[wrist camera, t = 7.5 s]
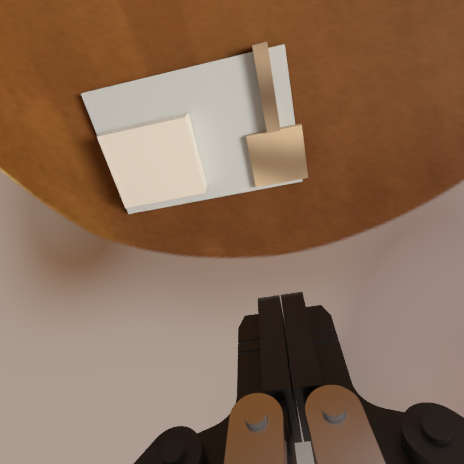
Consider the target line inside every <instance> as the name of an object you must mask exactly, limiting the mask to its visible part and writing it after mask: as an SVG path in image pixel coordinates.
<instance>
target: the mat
mask: <svg viewBox="0 0 464 464" xmlns="http://www.w3.org/2000/svg"><path fill="white" fill-rule="evenodd" d="M268 50H269V57H270V64H271V70H272V77H273V84H274V90H275V97H276V103H277V110H278V117H279V123H280V128H281V127H286V126H290V125H295V119H294V112H293V104H292V96H291V89H290V81H289V73H288V65H287V58H286V50H285V44H282V45H278V46H274V47H270V48H268ZM81 96H82V98H83V101H84V103H85V106H86V108H87V111H88V114H89V116H90V119H91V121H92V124H93V126H94V129H95V131H96V134H97V136H99V135H100V134H102V133H103V132H105V131H108V130H113V129H117V128H122V127H126V126H131V125H135V124H140V123H144V122H149V121H153V120H157V119H162V118H166V117H171V116H175V115H180V114H184V113H189V117H190V121H191V125H192V128H193V132H194V136H195V140H196V143H197V147H198V151H199V155H200V158H201V162H202V166H203V170H204V173H205V177H206V181H207V184H208V186H207V189H206V193H203V194H198V195H193V196H187V197H182V198H177V199H172V200H166V201H161V202H156V203H151V204H145V205H140V206H135V207H130V208H126V209H127V212H128V214H132V213H137V212H142V211H148V210H153V209H158V208H164V207H169V206H174V205H179V204H185V203H190V202H195V201H201V200H206V199H211V198H217V197H222V196H227V195H233V194H238V193H243V192H249V191H254V190H259V189H264V188H270V187H275V186H280V185H286V184H291V183H296V182H302V179H299V180H293V181H288V182H283V183H278V184H272V185H267V186H262V187H256V185H255V180H254V175H253V170H252V165H251V160H250V155H249V150H248V145H247V140H246V135H248V134H252V133H257V132H262V131H266V125H265V119H264V113H263V107H262V101H261V95H260V90H259V84H258V78H257V72H256V66H255V60H254V54H253V52H249V53H245V54H241V55H237V56H233V57H229V58H224V59H220V60H216V61H212V62H208V63H204V64H200V65H196V66H191V67H187V68H183V69H179V70H175V71H171V72H167V73H163V74H158V75H154V76H150V77H146V78H142V79H138V80H134V81H130V82H125V83H121V84H117V85H113V86H109V87H105V88H101V89H97V90H93V91H88V92H84V93H81Z"/></svg>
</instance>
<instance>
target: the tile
mask: <svg viewBox="0 0 464 464" xmlns="http://www.w3.org/2000/svg"><path fill="white" fill-rule="evenodd" d="M97 139H98V141H99V144H100V146H101V149H102V151H103V154H104V156H105V159H106V161H107V164H108V166H109V169H110V171H111V174H112V176H113V179H114V181H115V184H116V186H117V189H118V191H119V194H120V196H121V199H122V201H123V204H124V206H125V208H130V207H135V206H140V205H145V204H151V203H156V202H161V201H166V200H172V199H177V198H182V197H187V196H193V195H198V194H203V193H206V189H207V186H208V184H207V181H206V177H205V173H204V170H203V166H202V162H201V158H200V155H199V151H198V147H197V143H196V140H195V136H194V132H193V128H192V125H191V121H190V117H189V113H184V114H180V115H175V116H171V117H166V118H162V119H157V120H153V121H149V122H144V123H140V124H135V125H131V126H126V127H122V128H117V129H113V130H108V131H105V132H103V133H102V134H100V135H99V136H97Z"/></svg>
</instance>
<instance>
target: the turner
mask: <svg viewBox="0 0 464 464" xmlns="http://www.w3.org/2000/svg"><path fill="white" fill-rule="evenodd" d="M252 48H253V54H254V60H255V66H256V72H257V78H258V84H259V90H260V95H261V101H262V107H263V113H264V119H265V125H266V131H262V132H257V133H252V134H248V135H246V140H247V145H248V150H249V155H250V160H251V165H252V170H253V175H254V180H255V185H256V187H262V186H267V185H272V184H278V183H283V182H288V181H293V180H299V179H304V178H308V173H307V164H306V156H305V148H304V140H303V131H302V124H301V123H300V124H295V125H290V126H286V127H281V128H280V123H279V117H278V110H277V103H276V97H275V90H274V84H273V77H272V70H271V64H270V57H269V50H268V44H267V42H263V43H259V44H254V45H252Z"/></svg>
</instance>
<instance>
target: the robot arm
mask: <svg viewBox="0 0 464 464" xmlns="http://www.w3.org/2000/svg"><path fill="white" fill-rule="evenodd" d="M281 299H282V307H283V313H282V307H281V302H280V297H279V295H278V296H272V297H264V298H258V311H259V314H255V315H248V316H245V317H244V319H243V320H242V323H241V324H240V326H239V331H238V333H239V334H238V342H239V344H238V379H237V380H238V381H237V400H236V404H235V405H234V407H233V408H232V410H231V413H230V414H229V415H228V417H227V418H226V419H224V420H223V421H222V422H221V423H219V424H217V425H216V426H213V427H211V428H209V429H207V430H204V431H202V432H200V433H198V434H197V433H196V432H195V431H193V430H192V429H191V428H188V427H184V426H177V427H173V428H170V429H168V430H166V431H165V432H163V433H162V434H160V435H159V436H158V437H157V438H156V439H155V440H154V442H153V443H152V444H151V445H150V446H149V447H148V448H147V449H146V451H145V452H144V453H143V454H142V455H141V456H140V457H139V458H138V459H137V461H136V462H135V463H134V464H297V461H296V453H295V445H294V443H297V442H302V439H301V432H300V425H299V418H298V412H299V417H300V422H301V427H302V432H303V437H304V442H305V441H311V446H312V451H313V456H314V462H315V464H464V418H463V417H462V416H460V415H458V414H457V413H455V412H454V411H452V410H450V409H448V408H447V407H444V406H442V405H439V404H435V403H419V404H415V405H413V406H411V407H409V408H408V409H407V410H406V412H400V411H394V410H389V409H385V408H381V407H378V406H375V405H373V404H371V403H369V402H367V401H366V400H364V399H363V398H362V397H361V396H360V395H359V394H358V393H357V392H356V390H355V389H354V387H353V385H352V382H351V379H350V376H349V373H348V369H347V366H346V363H345V360H344V357H343V353H342V350H341V346H340V343H339V341H338V337H337V334H336V331H335V327H334V324H333V320H332V317H331V315H330V314H329V313H328V312H327V311H326V310H325V309H324V308H323V307H322V306H321V305H318V306H311V307H306V306H305V302H304V298H303V293H302V292H298V293H291V294H284V295H281ZM283 314H284V318H283ZM284 322H285V323H284ZM296 402H297V403H296ZM297 407H298V411H297Z"/></svg>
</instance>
